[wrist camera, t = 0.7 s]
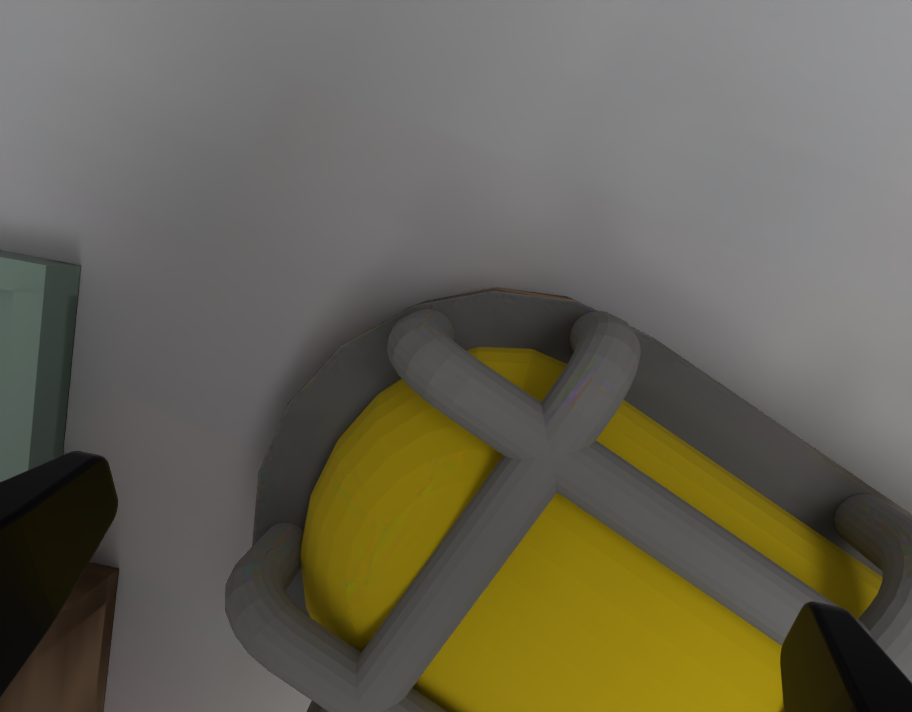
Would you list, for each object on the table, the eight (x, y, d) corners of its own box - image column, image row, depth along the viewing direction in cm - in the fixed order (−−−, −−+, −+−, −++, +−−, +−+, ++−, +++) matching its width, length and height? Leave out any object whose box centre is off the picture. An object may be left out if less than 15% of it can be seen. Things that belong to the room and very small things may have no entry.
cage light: (404, 158, 14) (1600, 978, 14) (443, 198, 22) (1206, 721, 22) (70, 684, 16) (1100, 1388, 16) (216, 547, 24) (908, 1020, 24)
